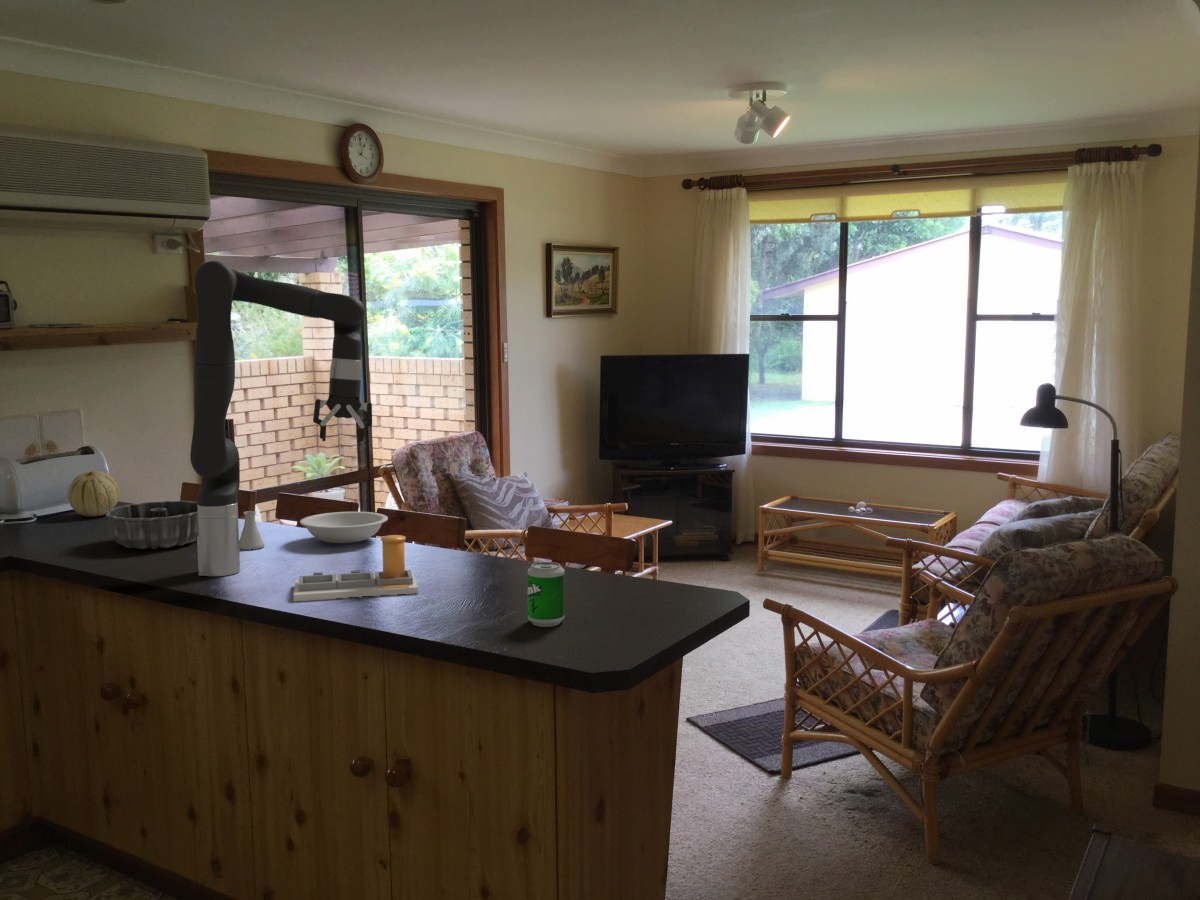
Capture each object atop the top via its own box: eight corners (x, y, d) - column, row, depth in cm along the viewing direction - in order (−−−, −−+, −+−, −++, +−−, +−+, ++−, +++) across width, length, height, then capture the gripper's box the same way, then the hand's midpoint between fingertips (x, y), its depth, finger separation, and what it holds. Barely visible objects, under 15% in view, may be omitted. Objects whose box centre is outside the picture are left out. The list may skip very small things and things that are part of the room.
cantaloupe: (113, 510, 326) (111, 465, 325) (126, 517, 315) (123, 470, 314) (63, 515, 317) (61, 469, 315) (74, 522, 306) (72, 474, 304)
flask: (235, 551, 267) (234, 514, 265) (238, 545, 273) (236, 510, 272) (264, 550, 268) (262, 513, 267) (265, 544, 275) (264, 509, 274)
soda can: (564, 617, 206) (564, 560, 204) (564, 627, 198) (564, 569, 197) (528, 617, 206) (528, 560, 204) (526, 628, 198) (526, 569, 197)
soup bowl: (381, 531, 295) (380, 509, 294) (394, 547, 273) (394, 523, 272) (297, 536, 286) (296, 514, 285) (304, 554, 264) (303, 529, 263)
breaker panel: (293, 601, 217) (293, 587, 216) (296, 585, 230) (295, 572, 230) (418, 593, 224) (418, 580, 223) (413, 578, 237) (413, 566, 237)
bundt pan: (176, 556, 261) (174, 518, 260) (85, 552, 265) (83, 515, 264) (228, 536, 287) (227, 502, 286) (145, 532, 291) (143, 499, 290)
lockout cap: (382, 583, 226) (381, 540, 224) (381, 577, 231) (380, 535, 230) (407, 582, 227) (406, 539, 226) (405, 576, 232) (404, 534, 231)
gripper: (314, 375, 241) (311, 441, 242) (374, 379, 244) (370, 445, 245) (316, 375, 248) (313, 439, 249) (374, 379, 251) (370, 442, 253)
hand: (341, 442), depth 247 cm, fingers open, 8 cm apart
